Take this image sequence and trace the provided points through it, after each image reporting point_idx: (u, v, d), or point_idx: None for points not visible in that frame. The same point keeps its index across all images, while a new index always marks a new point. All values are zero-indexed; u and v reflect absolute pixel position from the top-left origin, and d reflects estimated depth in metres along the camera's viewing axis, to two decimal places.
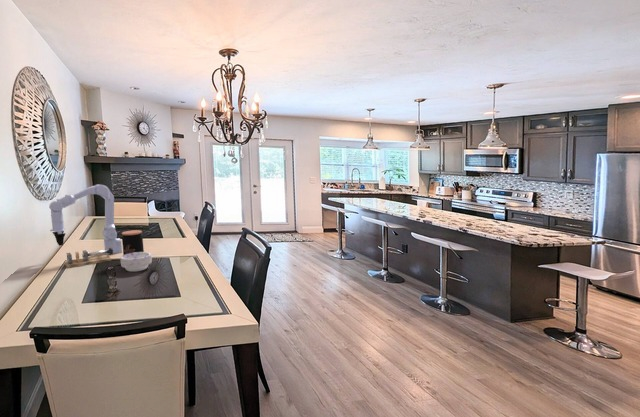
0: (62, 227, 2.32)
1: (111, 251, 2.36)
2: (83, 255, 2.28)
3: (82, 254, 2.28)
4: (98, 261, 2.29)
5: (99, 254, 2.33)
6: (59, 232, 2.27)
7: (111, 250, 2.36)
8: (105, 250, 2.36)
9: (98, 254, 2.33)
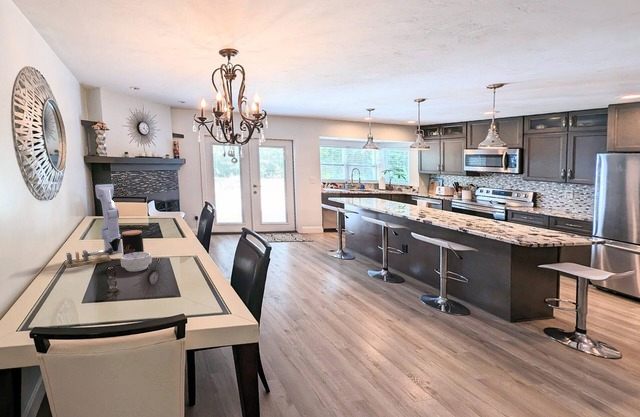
0: (116, 235, 2.36)
1: (111, 251, 2.36)
2: (83, 255, 2.28)
3: (82, 254, 2.28)
4: (98, 261, 2.29)
5: (99, 254, 2.33)
6: (109, 240, 2.31)
7: (111, 250, 2.36)
8: (105, 250, 2.36)
9: (98, 254, 2.33)
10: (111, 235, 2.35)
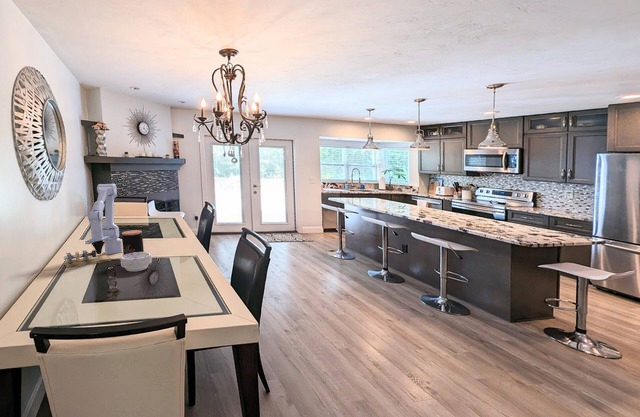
0: (96, 237, 2.30)
1: (94, 254, 2.31)
2: (65, 258, 2.22)
3: (64, 257, 2.22)
4: (98, 261, 2.29)
5: None
6: (86, 242, 2.26)
7: (94, 253, 2.31)
8: (88, 253, 2.30)
9: None
10: (92, 237, 2.30)
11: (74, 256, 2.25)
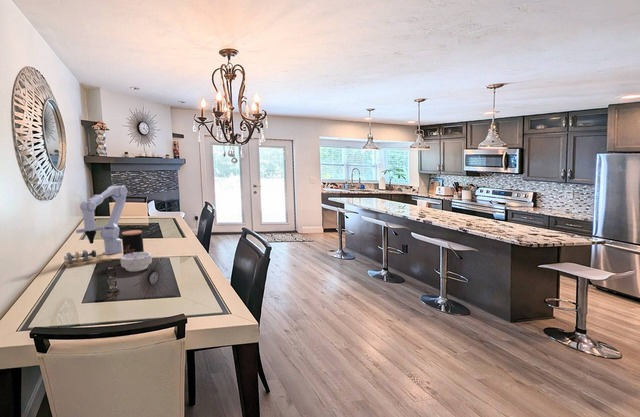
0: (87, 227, 2.34)
1: (94, 254, 2.31)
2: (65, 258, 2.22)
3: (64, 257, 2.22)
4: (98, 261, 2.29)
5: None
6: (76, 231, 2.32)
7: (94, 253, 2.31)
8: (88, 253, 2.30)
9: None
10: (84, 227, 2.35)
11: (74, 256, 2.25)
